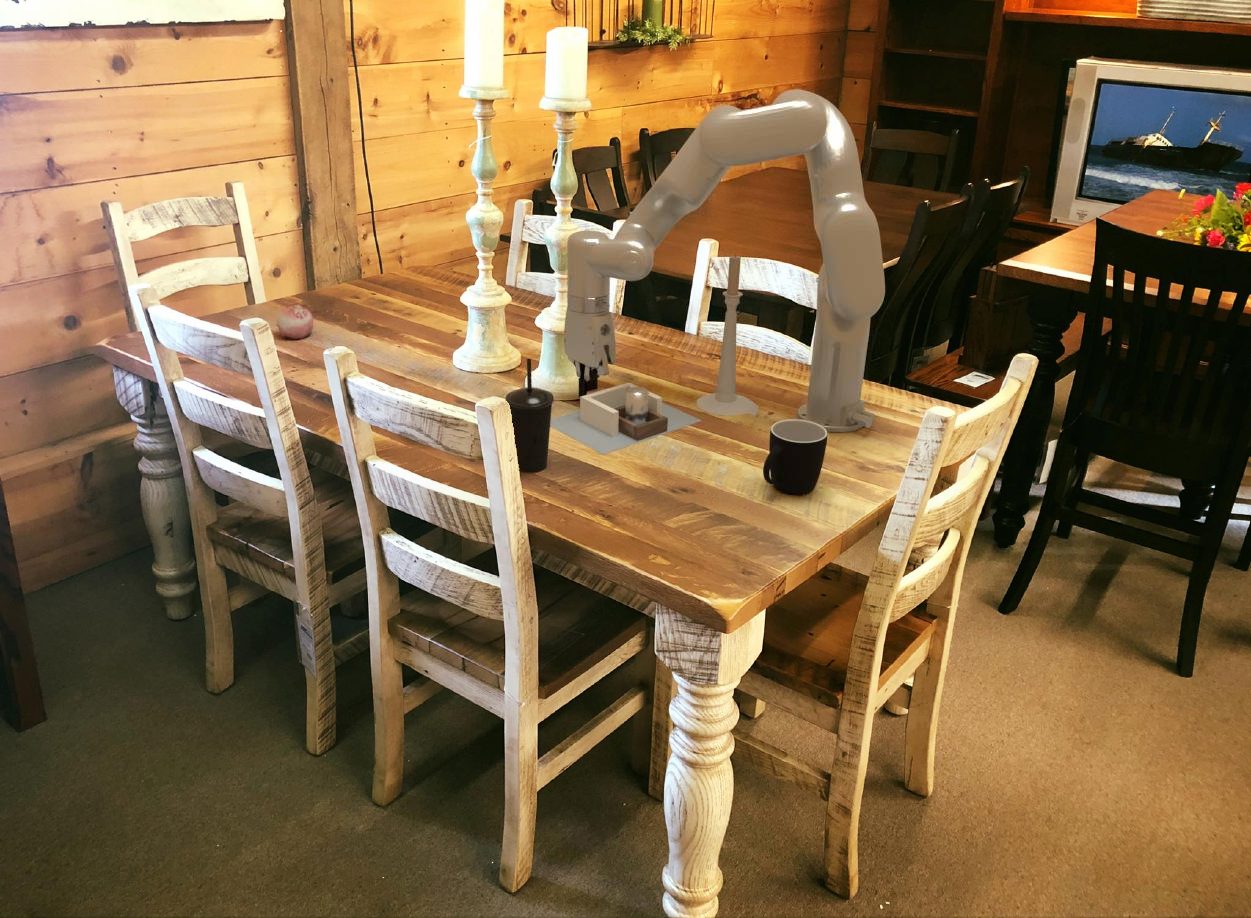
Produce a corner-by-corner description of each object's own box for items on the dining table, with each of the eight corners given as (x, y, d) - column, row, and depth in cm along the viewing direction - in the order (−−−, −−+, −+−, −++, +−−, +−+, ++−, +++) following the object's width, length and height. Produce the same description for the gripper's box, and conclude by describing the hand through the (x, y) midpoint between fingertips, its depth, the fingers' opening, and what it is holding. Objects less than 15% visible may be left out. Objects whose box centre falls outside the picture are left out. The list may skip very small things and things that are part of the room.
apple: (310, 345, 228) (299, 318, 223) (276, 346, 230) (265, 319, 225) (322, 323, 234) (311, 296, 229) (289, 324, 235) (278, 297, 231)
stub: (651, 428, 187) (653, 391, 184) (635, 434, 185) (636, 397, 182) (636, 421, 190) (638, 384, 187) (620, 426, 187) (621, 390, 184)
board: (701, 428, 191) (701, 420, 191) (603, 462, 178) (603, 454, 177) (639, 399, 203) (639, 392, 202) (543, 429, 189) (543, 421, 188)
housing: (661, 420, 190) (662, 397, 188) (612, 436, 183) (613, 413, 181) (617, 399, 198) (618, 377, 196) (569, 414, 192) (569, 391, 190)
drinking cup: (498, 473, 173) (494, 358, 164) (534, 459, 178) (532, 347, 169) (528, 489, 168) (525, 372, 160) (564, 474, 173) (563, 360, 164)
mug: (790, 470, 177) (795, 414, 172) (832, 489, 171) (839, 432, 166) (741, 491, 169) (745, 433, 165) (783, 511, 163) (789, 452, 159)
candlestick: (739, 394, 206) (751, 243, 193) (770, 419, 195) (785, 261, 182) (679, 402, 202) (687, 248, 189) (708, 428, 191) (718, 266, 178)
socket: (667, 430, 186) (667, 417, 185) (637, 441, 182) (637, 427, 181) (634, 414, 192) (634, 402, 191) (604, 424, 188) (604, 411, 187)
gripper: (631, 308, 185) (629, 405, 193) (579, 288, 195) (579, 381, 203) (598, 316, 181) (597, 415, 189) (546, 295, 191) (547, 390, 199)
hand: (587, 397), depth 196 cm, fingers closed
